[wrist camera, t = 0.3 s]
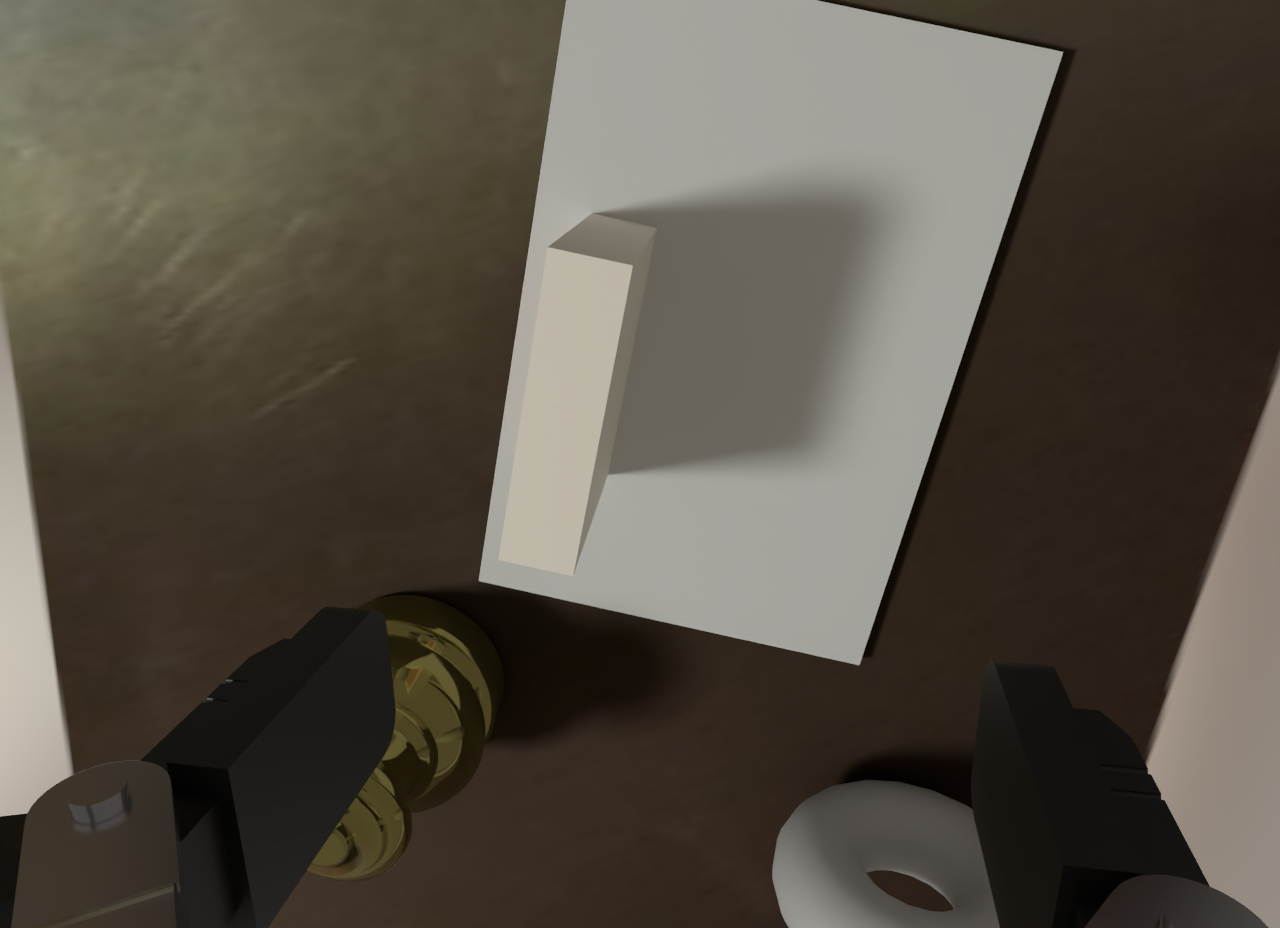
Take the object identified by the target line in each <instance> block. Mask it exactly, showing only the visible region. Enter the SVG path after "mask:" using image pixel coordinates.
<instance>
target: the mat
mask: <svg viewBox="0 0 1280 928" xmlns="http://www.w3.org/2000/svg"><path fill="white" fill-rule="evenodd" d="M1062 55H1063V52H1061V51H1056V50H1052V49H1047V48H1042V47H1037V46H1033V45H1028V44H1023V43H1018V42H1013V41H1009V40H1004V39H999V38H994V37H990V36H985V35H980V34H975V33H971V32H966V31H961V30H956V29H951V28H947V27H942V26H937V25H932V24H928V23H923V22H918V21H913V20H908V19H904V18H899V17H894V16H889V15H885V14H880V13H875V12H870V11H865V10H861V9H856V8H851V7H846V6H842V5H837V4H832V3H827V2H823V1H818V0H566V5H565V12H564V19H563V25H562V32H561V39H560V45H559V52H558V58H557V65H556V72H555V78H554V85H553V92H552V98H551V105H550V111H549V118H548V125H547V131H546V138H545V145H544V151H543V158H542V165H541V171H540V178H539V184H538V191H537V198H536V204H535V211H534V218H533V224H532V231H531V237H530V244H529V251H528V257H527V264H526V271H525V277H524V284H523V290H522V297H521V304H520V310H519V317H518V324H517V330H516V337H515V343H514V350H513V357H512V363H511V370H510V377H509V383H508V390H507V397H506V403H505V410H504V416H503V423H502V430H501V436H500V443H499V450H498V456H497V463H496V469H495V476H494V483H493V489H492V496H491V503H490V509H489V516H488V522H487V529H486V536H485V542H484V549H483V556H482V562H481V569H480V575H479V581H481V582H485V583H490V584H494V585H499V586H503V587H508V588H512V589H517V590H521V591H526V592H530V593H535V594H539V595H544V596H548V597H553V598H557V599H562V600H567V601H571V602H576V603H580V604H585V605H589V606H594V607H598V608H603V609H607V610H612V611H616V612H621V613H625V614H630V615H634V616H639V617H643V618H648V619H652V620H657V621H662V622H666V623H671V624H675V625H680V626H684V627H689V628H693V629H698V630H702V631H707V632H711V633H716V634H720V635H725V636H729V637H734V638H738V639H743V640H747V641H752V642H757V643H761V644H766V645H770V646H775V647H779V648H784V649H788V650H793V651H797V652H802V653H806V654H811V655H815V656H820V657H824V658H829V659H833V660H838V661H842V662H847V663H852V664H856V665H860V662H861V659H862V656H863V653H864V650H865V647H866V644H867V641H868V638H869V635H870V632H871V629H872V626H873V623H874V620H875V617H876V614H877V611H878V608H879V605H880V602H881V599H882V596H883V593H884V590H885V587H886V584H887V581H888V578H889V575H890V572H891V569H892V566H893V563H894V560H895V557H896V554H897V551H898V548H899V545H900V542H901V539H902V536H903V533H904V530H905V527H906V524H907V521H908V518H909V515H910V512H911V509H912V506H913V503H914V500H915V497H916V494H917V491H918V488H919V485H920V482H921V479H922V476H923V473H924V470H925V467H926V464H927V461H928V458H929V455H930V452H931V449H932V446H933V443H934V440H935V437H936V434H937V431H938V428H939V425H940V422H941V419H942V416H943V413H944V410H945V407H946V404H947V401H948V398H949V395H950V392H951V389H952V386H953V383H954V380H955V377H956V374H957V371H958V368H959V365H960V362H961V359H962V356H963V353H964V350H965V347H966V344H967V340H968V337H969V334H970V331H971V328H972V325H973V322H974V319H975V316H976V313H977V310H978V307H979V304H980V301H981V298H982V295H983V292H984V289H985V286H986V283H987V280H988V277H989V274H990V271H991V268H992V265H993V262H994V259H995V256H996V253H997V250H998V247H999V244H1000V241H1001V238H1002V235H1003V232H1004V229H1005V226H1006V223H1007V220H1008V217H1009V214H1010V211H1011V208H1012V205H1013V202H1014V199H1015V196H1016V193H1017V190H1018V187H1019V184H1020V181H1021V178H1022V175H1023V172H1024V169H1025V166H1026V163H1027V160H1028V157H1029V154H1030V151H1031V148H1032V145H1033V142H1034V139H1035V136H1036V133H1037V130H1038V127H1039V124H1040V121H1041V118H1042V115H1043V112H1044V109H1045V106H1046V103H1047V100H1048V97H1049V94H1050V91H1051V88H1052V85H1053V82H1054V79H1055V76H1056V73H1057V70H1058V67H1059V64H1060V61H1061V58H1062ZM592 213H594V214H598V215H603V216H608V217H612V218H617V219H622V220H626V221H631V222H636V223H640V224H645V225H650V226H654V227H657V231H656V236H655V241H654V246H653V251H652V256H651V261H650V266H649V271H648V276H647V281H646V286H645V291H644V296H643V301H642V306H641V311H640V316H639V321H638V326H637V331H636V336H635V341H634V346H633V351H632V356H631V361H630V366H629V371H628V376H627V381H626V386H625V392H624V397H623V402H622V407H621V412H620V417H619V422H618V427H617V432H616V437H615V442H614V447H613V452H612V457H611V462H610V467H609V472H608V476H607V479H606V482H605V485H604V488H603V491H602V494H601V496H600V499H599V502H598V505H597V508H596V511H595V514H594V517H593V520H592V523H591V526H590V529H589V532H588V535H587V537H586V540H585V543H584V546H583V549H582V552H581V555H580V558H579V561H578V564H577V567H576V570H575V573H574V575H573V576H569V575H564V574H560V573H555V572H551V571H546V570H542V569H537V568H533V567H528V566H524V565H519V564H515V563H510V562H505V561H501V560H498V558H499V551H500V545H501V539H502V532H503V526H504V520H505V513H506V507H507V501H508V494H509V488H510V482H511V475H512V469H513V463H514V456H515V450H516V444H517V438H518V431H519V425H520V419H521V412H522V406H523V400H524V393H525V387H526V381H527V374H528V368H529V362H530V355H531V349H532V343H533V336H534V330H535V324H536V317H537V311H538V305H539V298H540V292H541V286H542V279H543V273H544V267H545V260H546V254H547V248H548V246H550V245H551V244H552V243H554V242H555V241H556V240H558V239H559V238H560V237H562V236H563V235H564V234H565V233H567V232H568V231H569V230H571V229H572V228H573V227H575V226H576V225H577V224H579V223H580V222H581V221H582V220H584V219H585V218H586V217H588V216H589V215H590V214H592Z"/></svg>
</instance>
